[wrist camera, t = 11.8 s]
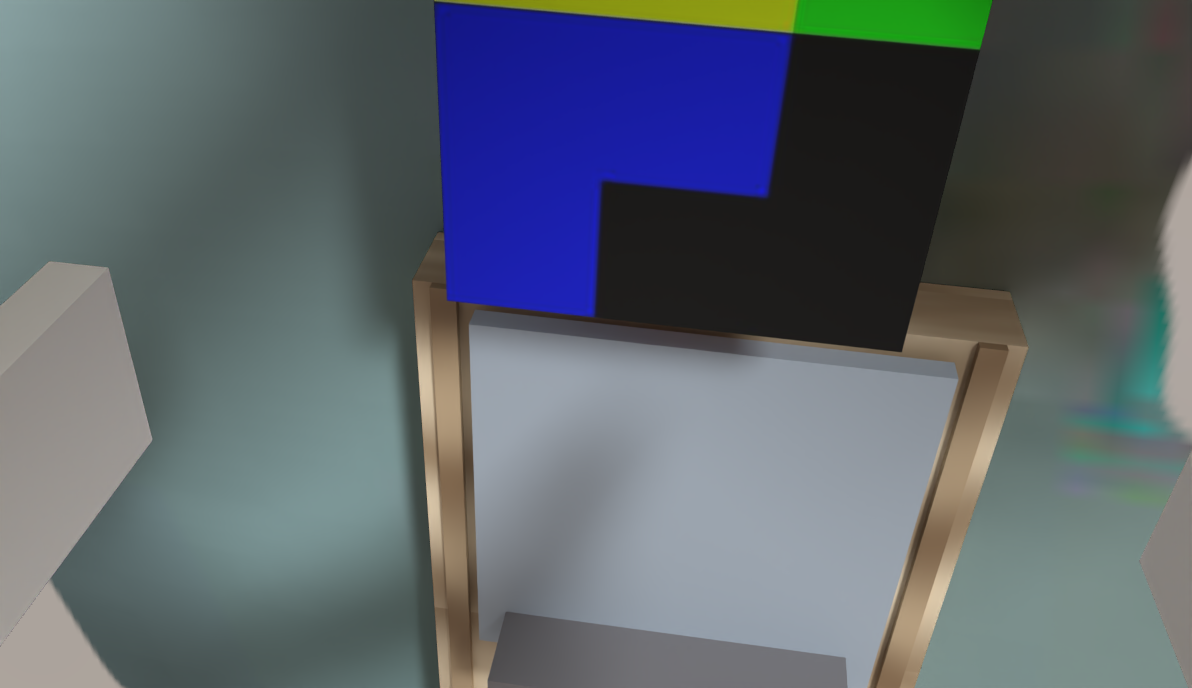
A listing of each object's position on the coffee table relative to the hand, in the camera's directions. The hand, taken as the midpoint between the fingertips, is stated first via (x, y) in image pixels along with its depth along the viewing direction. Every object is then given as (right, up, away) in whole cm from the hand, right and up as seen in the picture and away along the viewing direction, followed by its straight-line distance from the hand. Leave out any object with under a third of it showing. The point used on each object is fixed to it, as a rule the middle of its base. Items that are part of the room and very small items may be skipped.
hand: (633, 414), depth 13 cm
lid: (+3, -5, +22) cm, 23 cm away
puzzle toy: (+3, +11, +16) cm, 19 cm away
